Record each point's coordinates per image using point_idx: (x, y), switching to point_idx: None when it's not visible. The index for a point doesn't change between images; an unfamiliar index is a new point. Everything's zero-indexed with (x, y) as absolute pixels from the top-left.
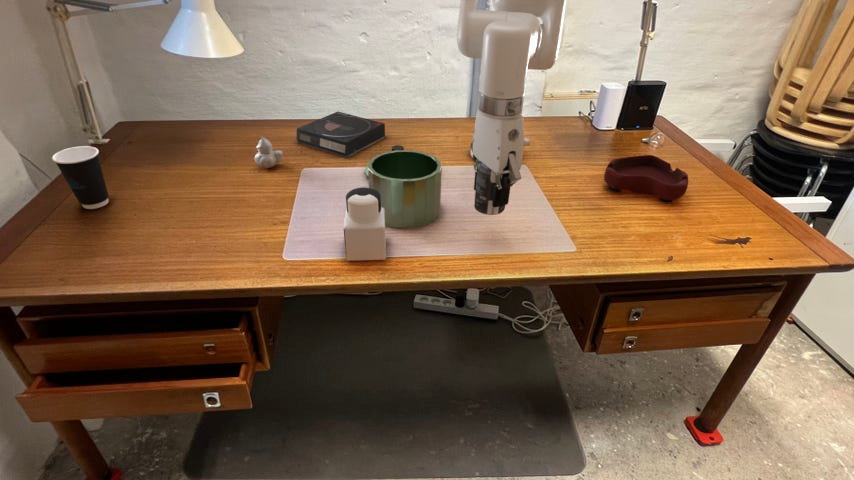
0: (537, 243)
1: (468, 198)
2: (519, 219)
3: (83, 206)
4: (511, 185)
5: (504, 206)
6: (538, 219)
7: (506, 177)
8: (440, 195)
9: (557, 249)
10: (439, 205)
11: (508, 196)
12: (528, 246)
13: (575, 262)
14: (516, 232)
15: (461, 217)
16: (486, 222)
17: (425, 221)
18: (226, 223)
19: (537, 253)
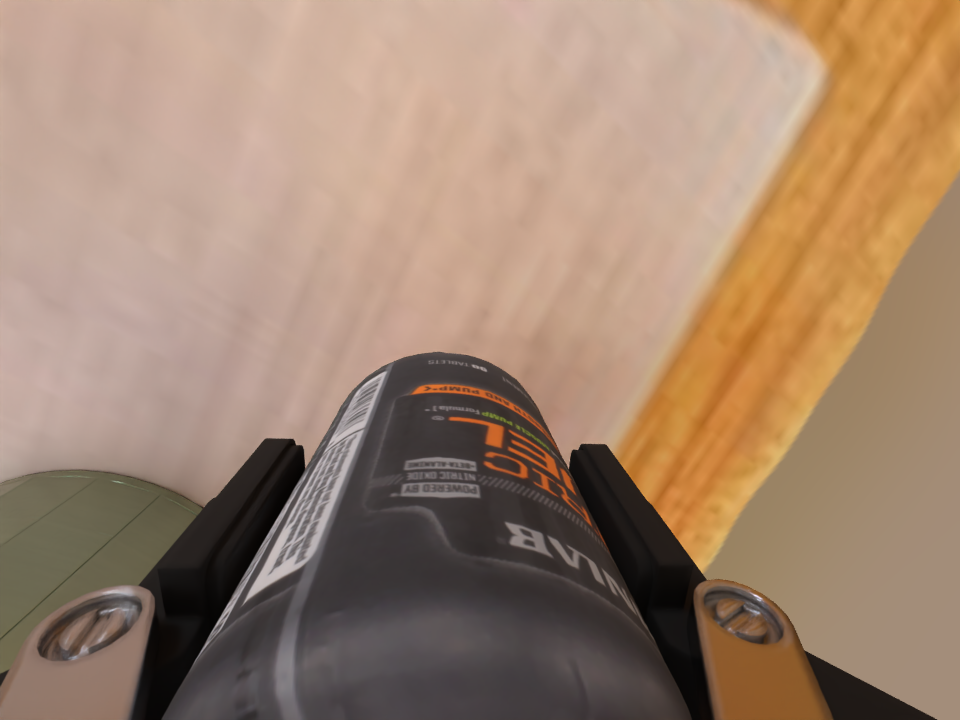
0: (657, 216)
1: (55, 271)
2: (408, 137)
3: None
4: (813, 660)
5: (537, 409)
6: (461, 16)
7: (705, 708)
8: (104, 560)
9: (757, 156)
10: (165, 538)
11: (627, 482)
12: (652, 278)
13: (887, 155)
14: (518, 249)
15: (262, 421)
16: (359, 334)
17: None
18: None
19: (720, 277)
